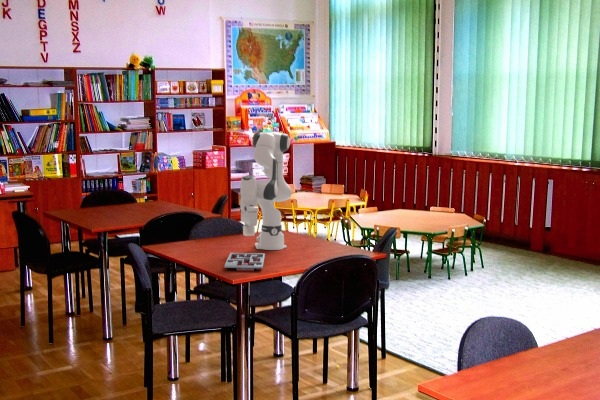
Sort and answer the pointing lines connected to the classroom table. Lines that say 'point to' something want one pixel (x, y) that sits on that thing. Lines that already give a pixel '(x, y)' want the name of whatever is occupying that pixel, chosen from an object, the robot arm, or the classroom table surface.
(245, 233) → the cream cube
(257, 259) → the maze game
